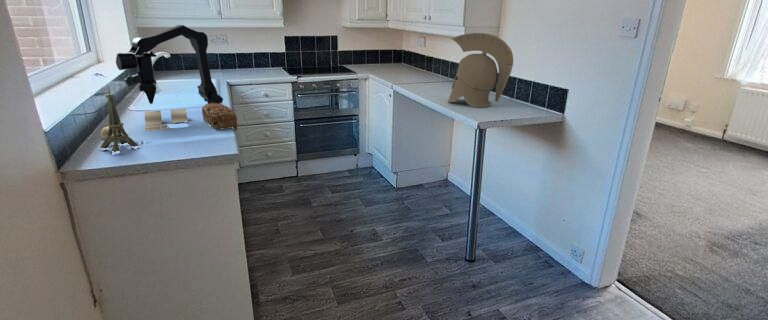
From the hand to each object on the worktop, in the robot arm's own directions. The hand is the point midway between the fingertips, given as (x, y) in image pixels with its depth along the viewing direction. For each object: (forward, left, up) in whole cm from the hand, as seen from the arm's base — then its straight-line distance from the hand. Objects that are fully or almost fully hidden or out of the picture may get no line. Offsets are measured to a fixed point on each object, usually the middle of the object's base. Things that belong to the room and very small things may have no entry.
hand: (151, 103), depth 192 cm
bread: (+14, +26, -10) cm, 32 cm away
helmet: (+15, +168, -10) cm, 169 cm away
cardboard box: (+11, +5, -10) cm, 15 cm away
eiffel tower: (+33, -11, -10) cm, 36 cm away
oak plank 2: (+2, +10, -7) cm, 13 cm away
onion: (+20, -14, -10) cm, 26 cm away
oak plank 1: (+2, 0, -7) cm, 7 cm away
